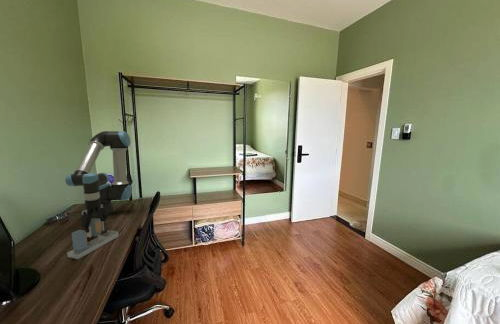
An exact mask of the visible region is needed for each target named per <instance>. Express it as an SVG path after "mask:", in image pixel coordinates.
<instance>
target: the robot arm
mask: <svg viewBox="0 0 500 324" xmlns="http://www.w3.org/2000/svg"><path fill="white" fill-rule="evenodd" d="M131 143H132V142H131V137H130V135H129V134H128V132H126V131H122V130H119V131H116V130H115V131H113V130H109V131H108V130H107V131H106V130H104V131H100V132H98V133H96V134H95V135H94V136H93V137H92V138H91V139H90V140H89V142H88V147H87V149H86V151H85V152H84V154H83V156H82V158H81V160H80V162H79V163H78V166H77V167H76V169H75V170H74V173H70V174H68V175H66V177H65V179H64V181H65V184H66V185H67V186H69V187H82V188H83V196H84V205H85V210H83V211H82V210H81V211H80V215H81V218H80V219H81V220H80V221H81V223H80V228H83V229H84V231H85V232H86V235H87V238H92V237H93V236H92V235H91V227H90V222H91V219H93V218H99V219H100V221H101V232H105V224H106V223H105V221H107V219H108V216H110V215H113V214H114V213H115V212H116V210H115V209H116V208H115V206H114V204H113V203H112V201H125V200H129V199H130V198H131V197H132V193H133V186H132V185H131V184H130V182H129V181H128V180H127V177H128V176H127V158H126V157H127V155H126V154H127V153H126V152H127V150H128V149H129V148H128V147H130V146H131ZM107 147H109V149H110V150H111V151H112V166H113V169H112V170H113V181H112V183H111V184H110V183H109V181H110V175H109V174H107V173H106V172H100V173H92V172H91V171H92V169H93V166H94V164H95V163H96V161H97V159H98V157H99V155H100V153H101V151H103V150H104V148H107Z"/></svg>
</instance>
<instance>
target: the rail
mask: <svg viewBox="0 0 500 324" xmlns="http://www.w3.org/2000/svg"><path fill="white" fill-rule="evenodd" d="M117 238H119V232H118V231H117V230H113V229H107V232H105V233H103V234H100V235H98V236H96V237H95V238H93V239H91V240H90V241H88V237H87V233H86V232H85V229H84V230H83V229H78V230H75V231H74V232H73V231H72V232H71V240H72V248H73V249H72V250H70V251H68V252H66V253H67V254H66V255H67V258H70V259H75V260H80V259H82V258H83V257H85V256H87V255H88V254H90V253H92V252H94V251H96V250H97V249H99V248H101V247H103V246H104V245H106V244H108V243H110V242H112V241H114V240H115V239H117Z"/></svg>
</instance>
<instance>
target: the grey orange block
mask: <svg viewBox="0 0 500 324" xmlns="http://www.w3.org/2000/svg"><path fill="white" fill-rule="evenodd" d="M89 227H91V235H92V237H95V238H97V237H98V235H103V234H102V231H101V220H100V219H99V217H93V218H91V222H90V226H89Z"/></svg>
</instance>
